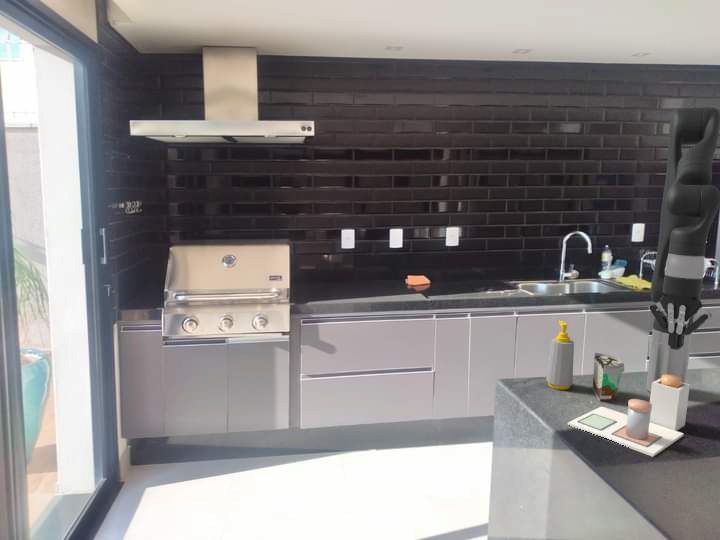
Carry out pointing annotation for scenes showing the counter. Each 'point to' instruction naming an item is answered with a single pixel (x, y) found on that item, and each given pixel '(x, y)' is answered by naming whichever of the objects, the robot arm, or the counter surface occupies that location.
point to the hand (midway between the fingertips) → (674, 348)
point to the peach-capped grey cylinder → (638, 419)
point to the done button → (671, 381)
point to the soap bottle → (561, 361)
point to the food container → (606, 376)
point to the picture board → (615, 429)
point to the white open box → (669, 405)
